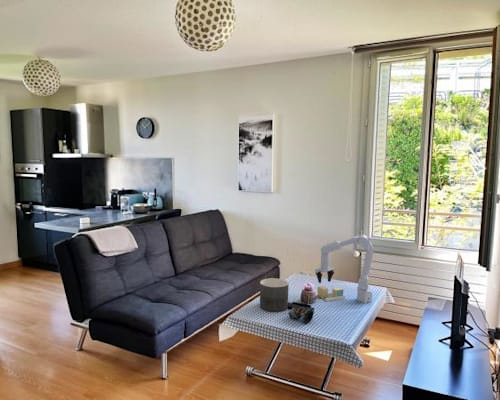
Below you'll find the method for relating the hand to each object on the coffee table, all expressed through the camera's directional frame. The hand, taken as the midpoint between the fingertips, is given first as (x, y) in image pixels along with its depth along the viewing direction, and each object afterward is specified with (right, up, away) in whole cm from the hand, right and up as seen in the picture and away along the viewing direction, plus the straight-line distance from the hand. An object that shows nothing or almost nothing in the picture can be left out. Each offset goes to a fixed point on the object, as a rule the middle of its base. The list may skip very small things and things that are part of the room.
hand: (324, 282), depth 261 cm
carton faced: (+8, -10, -3) cm, 13 cm away
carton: (-1, -9, -1) cm, 10 cm away
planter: (-36, -12, -18) cm, 42 cm away
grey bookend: (+3, -11, -2) cm, 11 cm away
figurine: (-21, -14, -38) cm, 46 cm away
